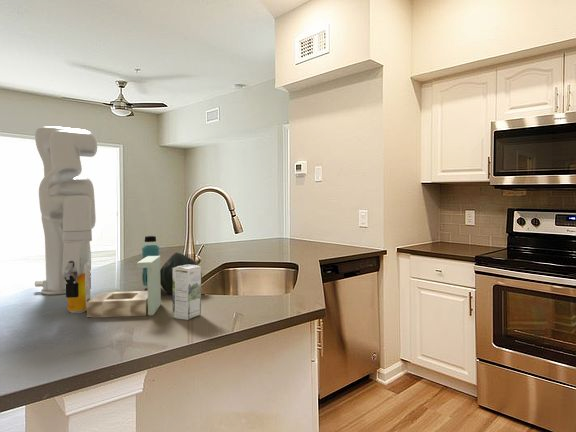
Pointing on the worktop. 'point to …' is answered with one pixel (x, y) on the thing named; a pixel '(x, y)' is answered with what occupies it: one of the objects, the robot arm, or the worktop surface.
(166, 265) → the squash
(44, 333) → the worktop surface
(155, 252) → the beverage bottle
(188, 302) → the syrup box
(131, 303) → the socket
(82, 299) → the beer can
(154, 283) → the mint green slab
